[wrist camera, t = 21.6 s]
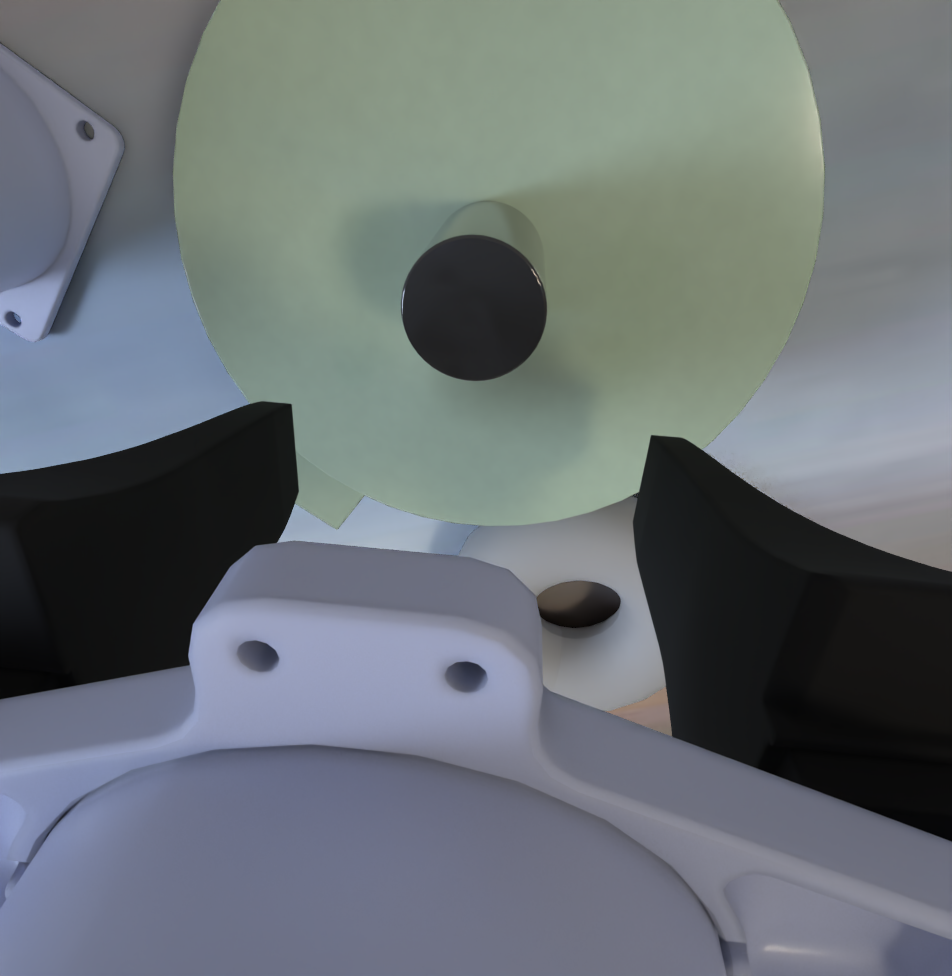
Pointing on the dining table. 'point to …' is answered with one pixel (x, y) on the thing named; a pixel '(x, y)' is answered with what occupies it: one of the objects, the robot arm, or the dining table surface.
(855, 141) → the dining table surface
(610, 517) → the donut
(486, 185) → the pot lid
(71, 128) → the robot arm
